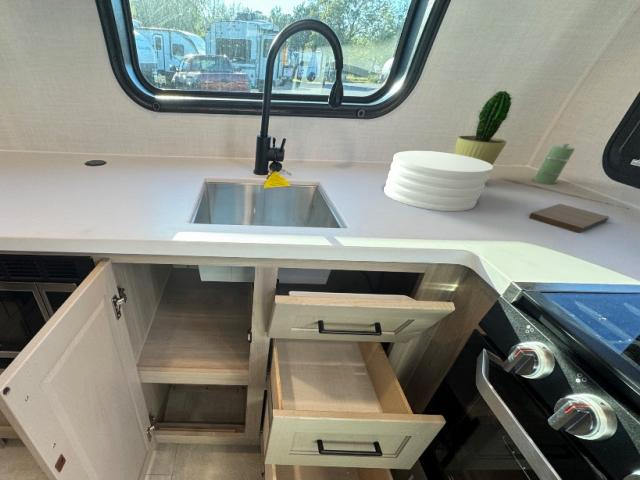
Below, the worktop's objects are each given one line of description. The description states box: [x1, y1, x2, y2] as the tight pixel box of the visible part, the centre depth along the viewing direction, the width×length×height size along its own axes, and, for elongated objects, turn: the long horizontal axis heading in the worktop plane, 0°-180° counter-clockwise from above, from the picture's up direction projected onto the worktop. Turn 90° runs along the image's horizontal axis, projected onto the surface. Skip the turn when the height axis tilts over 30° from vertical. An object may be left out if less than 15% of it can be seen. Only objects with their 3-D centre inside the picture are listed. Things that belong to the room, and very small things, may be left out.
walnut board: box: [528, 203, 610, 234], centre depth 91 cm, size 18×12×2 cm, turn 119°
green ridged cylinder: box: [533, 142, 576, 185], centre depth 118 cm, size 7×7×14 cm
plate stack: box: [383, 150, 494, 212], centre depth 103 cm, size 28×28×12 cm
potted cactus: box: [453, 90, 514, 166], centre depth 114 cm, size 15×15×30 cm
